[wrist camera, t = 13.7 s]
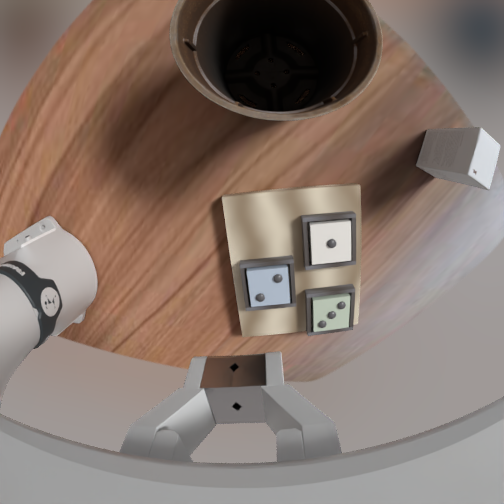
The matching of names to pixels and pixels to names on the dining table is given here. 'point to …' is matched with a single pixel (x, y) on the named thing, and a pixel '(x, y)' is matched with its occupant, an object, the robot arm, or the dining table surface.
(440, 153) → the skincare box
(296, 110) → the plant pot
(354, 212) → the key board
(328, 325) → the three dot key
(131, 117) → the dining table surface
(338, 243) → the one dot key
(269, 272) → the two dot key
